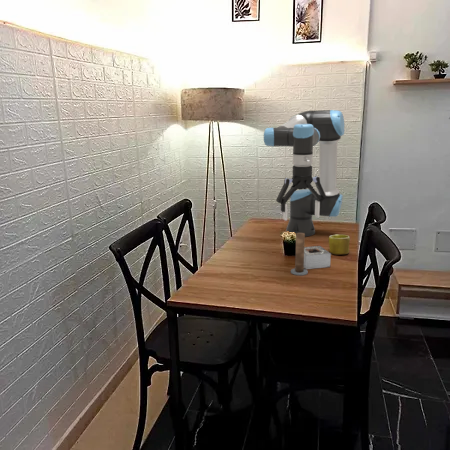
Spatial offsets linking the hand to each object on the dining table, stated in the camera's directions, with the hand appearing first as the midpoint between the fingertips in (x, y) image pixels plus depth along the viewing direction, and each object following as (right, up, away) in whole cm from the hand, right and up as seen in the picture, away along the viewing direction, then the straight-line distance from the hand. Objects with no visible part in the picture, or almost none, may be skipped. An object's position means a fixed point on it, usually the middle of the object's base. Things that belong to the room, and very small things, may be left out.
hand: (301, 218), depth 174 cm
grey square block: (+8, -19, +15) cm, 26 cm away
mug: (+23, -15, +30) cm, 41 cm away
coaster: (0, -22, +6) cm, 23 cm away
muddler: (0, -22, +5) cm, 22 cm away
